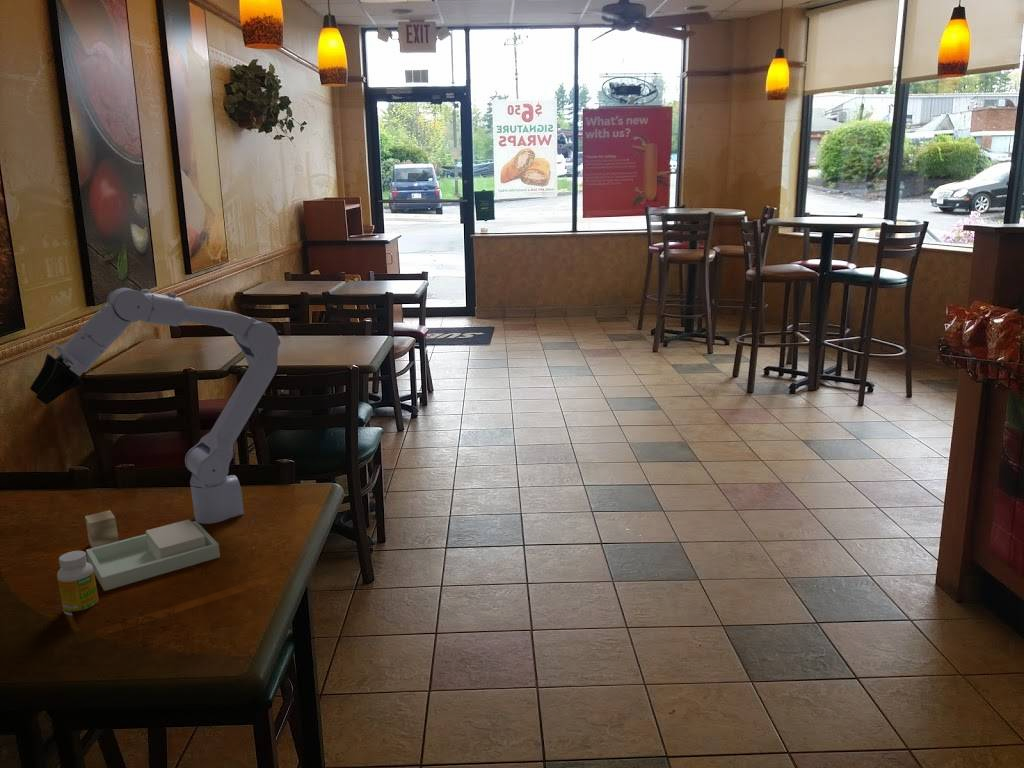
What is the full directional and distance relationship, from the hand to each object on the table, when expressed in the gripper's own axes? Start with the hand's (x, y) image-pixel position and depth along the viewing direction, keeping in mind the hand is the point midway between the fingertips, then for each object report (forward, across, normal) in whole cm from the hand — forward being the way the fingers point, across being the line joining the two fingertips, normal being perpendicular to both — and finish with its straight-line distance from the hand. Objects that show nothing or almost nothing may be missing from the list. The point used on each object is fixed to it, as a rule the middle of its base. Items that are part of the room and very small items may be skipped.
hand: (37, 396), depth 147 cm
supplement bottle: (+22, +22, +24) cm, 39 cm away
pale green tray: (+12, +13, +33) cm, 37 cm away
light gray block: (+8, +13, +35) cm, 38 cm away
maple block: (+16, 0, +29) cm, 33 cm away
